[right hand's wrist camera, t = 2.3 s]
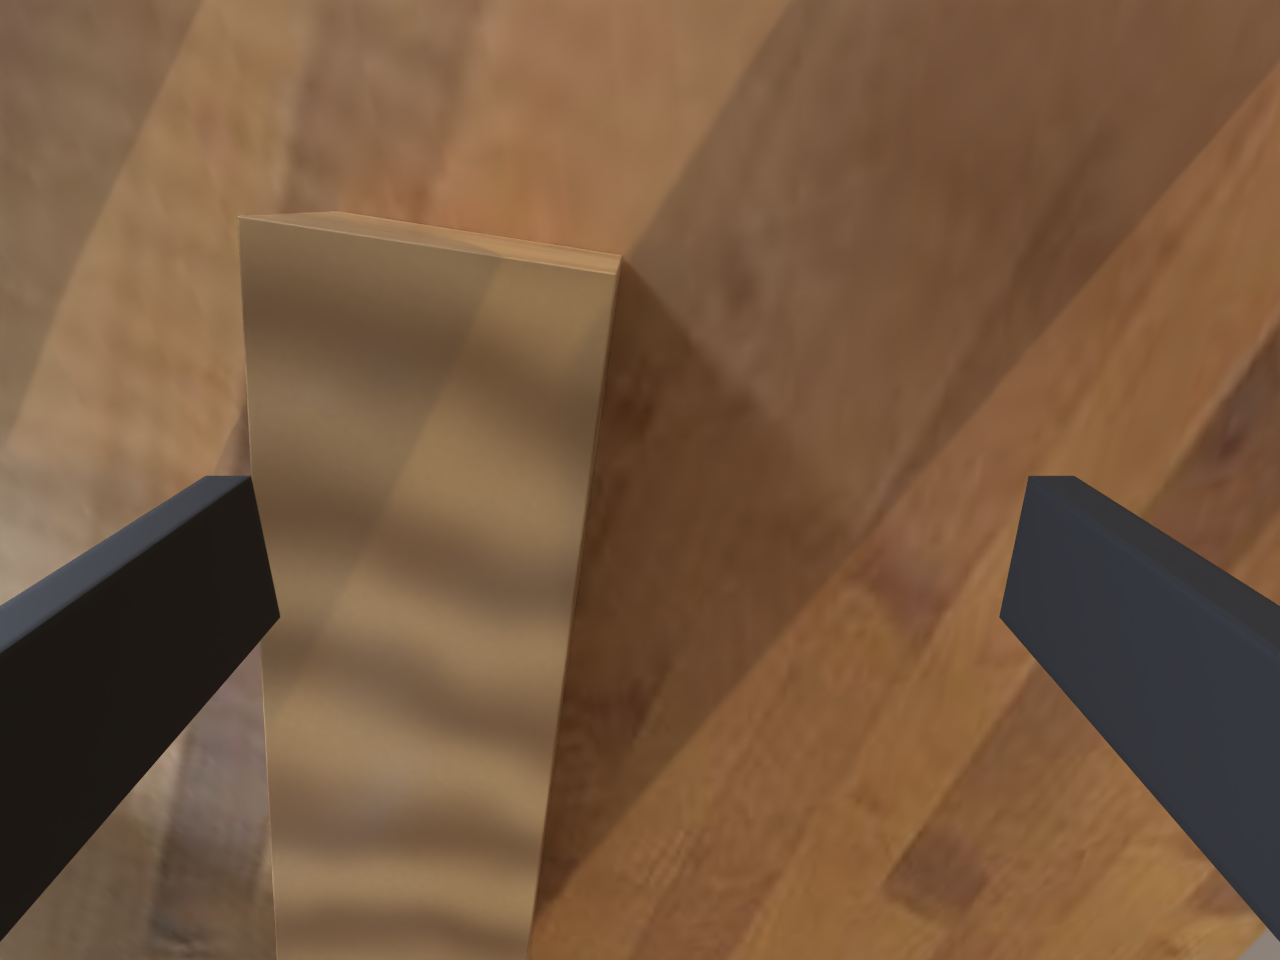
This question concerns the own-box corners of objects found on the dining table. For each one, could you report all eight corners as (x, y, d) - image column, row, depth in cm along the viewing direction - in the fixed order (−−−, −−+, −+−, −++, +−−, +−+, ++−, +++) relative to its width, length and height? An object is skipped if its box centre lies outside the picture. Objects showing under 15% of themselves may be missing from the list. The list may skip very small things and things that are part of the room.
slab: (336, 211, 25) (236, 215, 19) (622, 255, 26) (616, 273, 19) (342, 1226, 48) (298, 1378, 42) (492, 1239, 49) (470, 1390, 43)
